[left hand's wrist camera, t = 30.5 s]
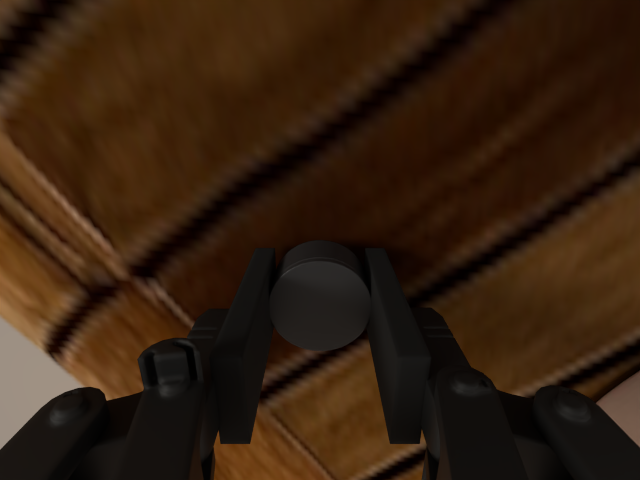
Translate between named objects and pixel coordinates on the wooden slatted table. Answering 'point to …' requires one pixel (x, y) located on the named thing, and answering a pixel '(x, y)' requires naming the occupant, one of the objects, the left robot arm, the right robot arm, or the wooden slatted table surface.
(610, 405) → the anatomical model
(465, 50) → the wooden slatted table surface
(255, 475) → the wooden slatted table surface
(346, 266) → the cap
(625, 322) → the wooden slatted table surface
